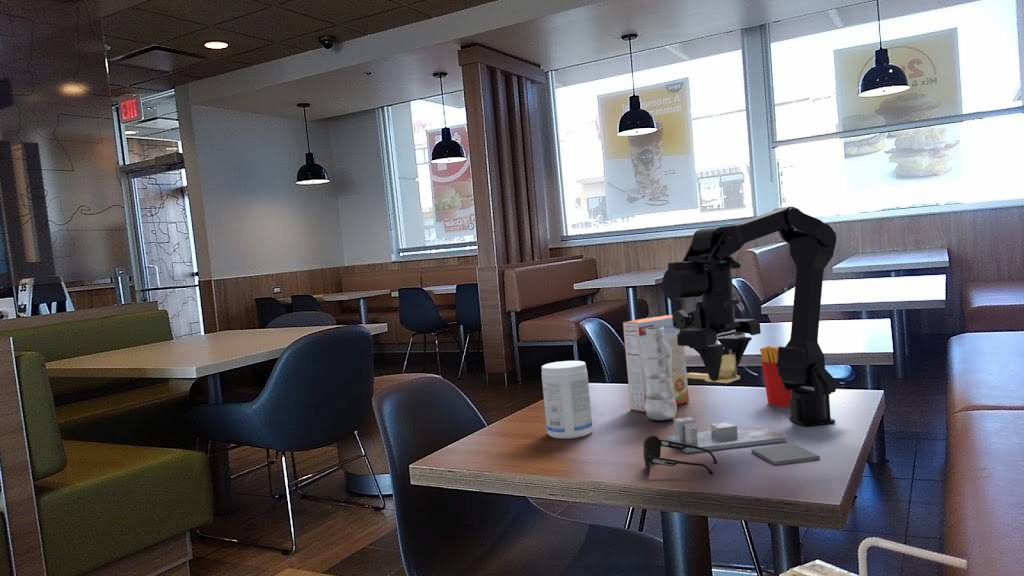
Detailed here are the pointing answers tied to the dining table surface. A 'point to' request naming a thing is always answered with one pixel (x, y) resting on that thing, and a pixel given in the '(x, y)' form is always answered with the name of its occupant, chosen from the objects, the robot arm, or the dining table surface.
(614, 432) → the dining table surface
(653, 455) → the sunglasses
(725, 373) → the gold rounded piece
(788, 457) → the mat
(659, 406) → the plastic bottle
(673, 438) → the lock base
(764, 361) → the french fries
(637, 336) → the cracker box
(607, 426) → the dining table surface
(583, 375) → the supplement tub
